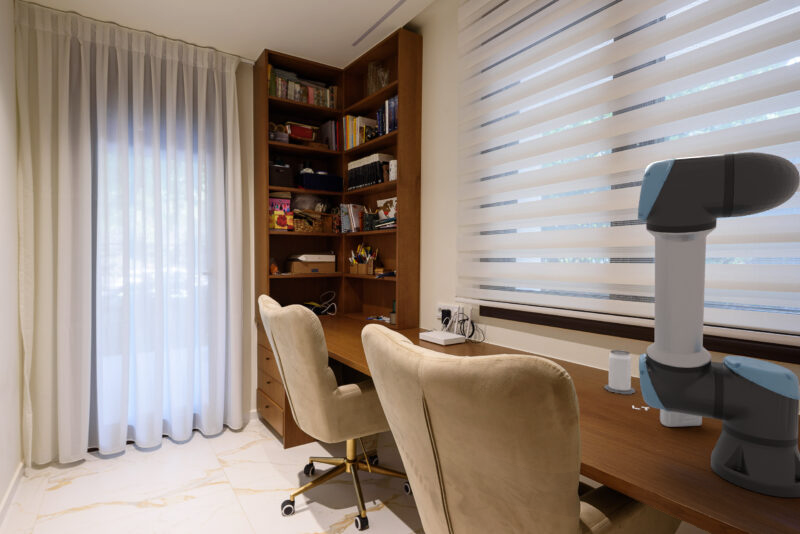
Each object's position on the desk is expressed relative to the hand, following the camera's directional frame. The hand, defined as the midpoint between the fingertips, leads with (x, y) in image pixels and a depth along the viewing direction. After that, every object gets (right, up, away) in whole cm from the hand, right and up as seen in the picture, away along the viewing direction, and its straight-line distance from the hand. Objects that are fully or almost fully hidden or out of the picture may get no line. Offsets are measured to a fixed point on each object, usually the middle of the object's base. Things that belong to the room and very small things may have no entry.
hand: (682, 298), depth 124 cm
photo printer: (-8, -32, -12) cm, 35 cm away
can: (-10, -31, +16) cm, 36 cm away
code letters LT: (-12, -32, 0) cm, 34 cm away
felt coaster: (-10, -31, +16) cm, 36 cm away
